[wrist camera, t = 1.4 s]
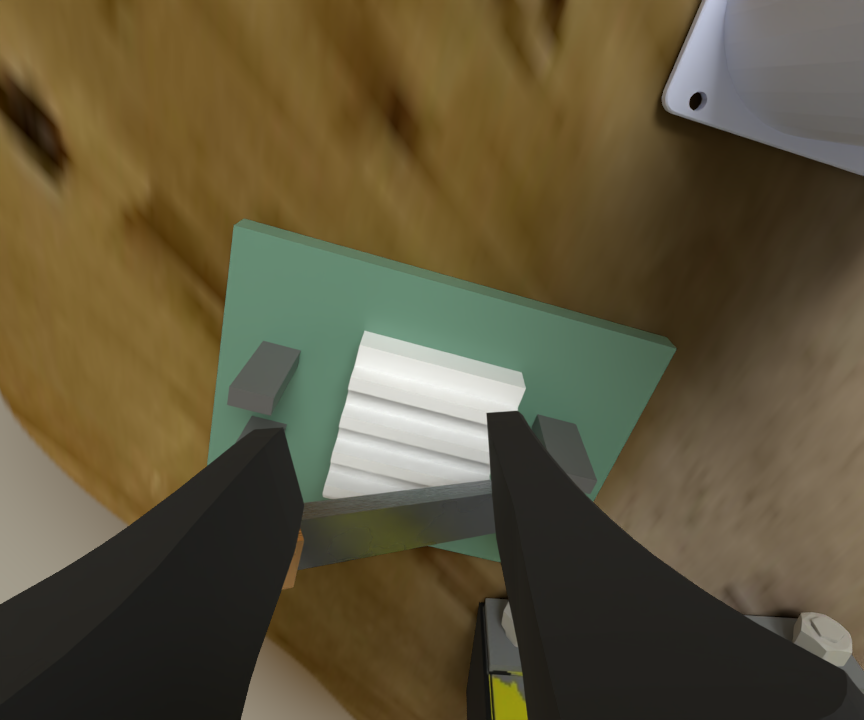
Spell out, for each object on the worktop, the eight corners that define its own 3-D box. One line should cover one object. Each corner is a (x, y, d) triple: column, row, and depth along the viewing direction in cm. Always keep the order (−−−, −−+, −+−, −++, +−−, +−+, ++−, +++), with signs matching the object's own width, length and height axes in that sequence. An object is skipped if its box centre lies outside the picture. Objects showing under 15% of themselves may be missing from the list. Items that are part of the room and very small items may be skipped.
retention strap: (563, 467, 20) (587, 493, 19) (544, 507, 21) (565, 533, 20) (239, 506, 14) (248, 546, 13) (231, 559, 15) (239, 600, 14)
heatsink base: (666, 337, 20) (719, 397, 16) (549, 557, 26) (567, 642, 22) (244, 218, 19) (189, 253, 15) (213, 479, 24) (166, 556, 20)
